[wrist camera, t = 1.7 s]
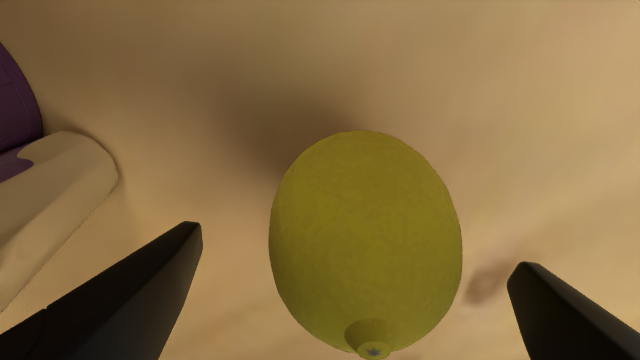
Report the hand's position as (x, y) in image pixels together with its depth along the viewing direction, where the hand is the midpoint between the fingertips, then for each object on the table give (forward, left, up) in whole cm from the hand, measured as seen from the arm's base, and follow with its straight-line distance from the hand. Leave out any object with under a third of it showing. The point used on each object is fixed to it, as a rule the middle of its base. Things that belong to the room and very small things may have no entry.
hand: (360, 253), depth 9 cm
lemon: (0, 0, -5) cm, 5 cm away
